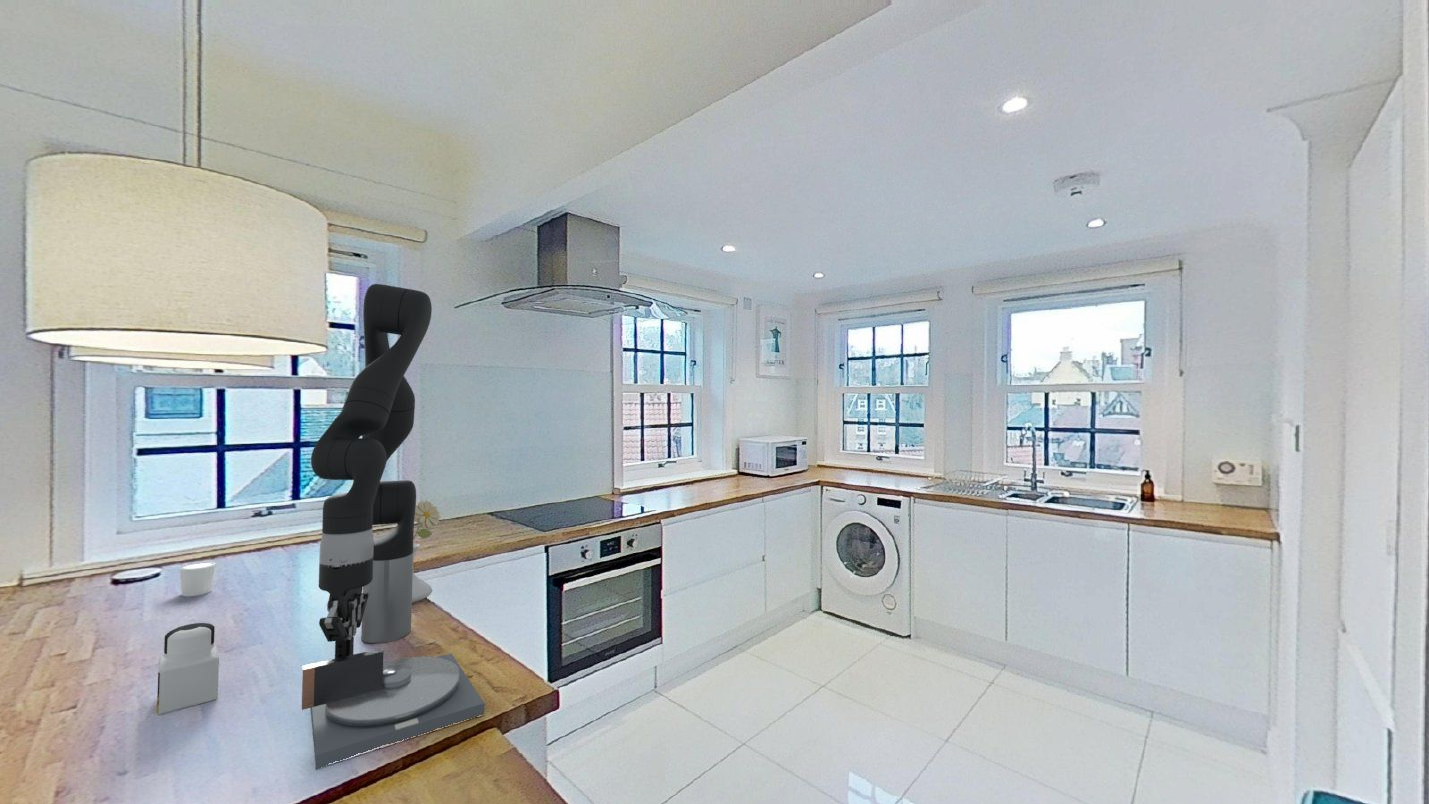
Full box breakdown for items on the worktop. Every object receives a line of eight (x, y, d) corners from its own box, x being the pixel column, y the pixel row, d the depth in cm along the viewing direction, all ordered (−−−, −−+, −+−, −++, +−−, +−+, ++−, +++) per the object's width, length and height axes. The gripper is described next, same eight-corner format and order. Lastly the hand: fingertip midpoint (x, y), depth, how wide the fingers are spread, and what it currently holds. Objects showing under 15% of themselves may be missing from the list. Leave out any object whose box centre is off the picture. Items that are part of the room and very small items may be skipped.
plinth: (309, 699, 91) (310, 686, 91) (451, 663, 105) (451, 652, 105) (315, 769, 74) (316, 753, 74) (484, 715, 88) (484, 701, 88)
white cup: (207, 595, 138) (208, 568, 138) (172, 598, 135) (173, 570, 136) (220, 587, 144) (221, 560, 144) (187, 589, 142) (188, 563, 142)
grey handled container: (158, 698, 91) (160, 626, 91) (215, 683, 96) (218, 615, 96) (156, 716, 86) (159, 640, 86) (217, 699, 91) (220, 628, 91)
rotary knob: (444, 655, 103) (446, 615, 103) (472, 698, 88) (473, 652, 88) (300, 691, 89) (301, 645, 89) (303, 749, 74) (304, 694, 74)
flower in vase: (392, 611, 130) (395, 507, 130) (373, 600, 137) (376, 502, 137) (447, 597, 140) (449, 501, 141) (426, 587, 147) (428, 496, 148)
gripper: (339, 547, 96) (337, 645, 96) (300, 569, 83) (297, 682, 83) (386, 546, 98) (383, 642, 98) (355, 567, 85) (351, 678, 85)
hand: (343, 660), depth 90 cm, fingers closed
